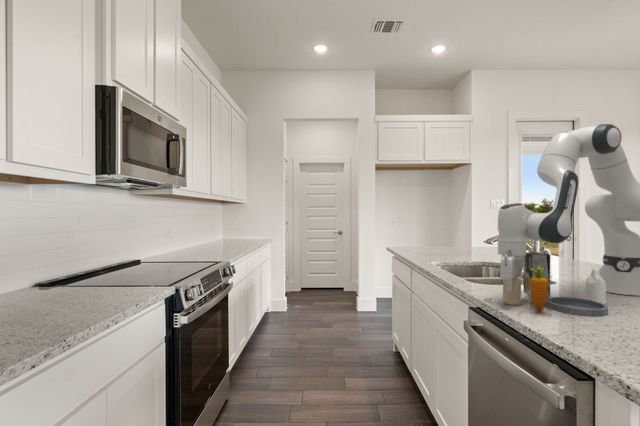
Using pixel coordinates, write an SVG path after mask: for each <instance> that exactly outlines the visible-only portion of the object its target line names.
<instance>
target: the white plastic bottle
mask: <svg viewBox="0 0 640 426" xmlns="http://www.w3.org/2000/svg"><path fill="white" fill-rule="evenodd" d="M585 293H586V295H585V296H586V299H587V300H592V301H596V302H600V303H603V304H605V305H607V292H606V283H605V282H604V280H603V278H602V277H601V276H600V275H599V273H598V270H597V269H595V268H592V269H591V273H590V275H589V276H588V277H587V278H586V281H585Z"/></svg>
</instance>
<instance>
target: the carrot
mask: <svg viewBox="0 0 640 426" xmlns="http://www.w3.org/2000/svg"><path fill="white" fill-rule="evenodd" d="M537 267H538V268H537V271H535V270H534V269H530V270H531V271H533V272H534V273H535V275H536V277H532V278H531V280H530V287H531V296H530V297H531V300H532V303H533V306H534V308H535V310H536V312H537V313H542V311H543V310H544V307H545V306H546V304H547V299H548V298H547V294H548V280H547V279H546V278H544V277H542V274H543V271H544V268H542V269H541V266H540V265H538V266H537Z"/></svg>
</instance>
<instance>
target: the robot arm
mask: <svg viewBox="0 0 640 426" xmlns="http://www.w3.org/2000/svg"><path fill="white" fill-rule="evenodd" d="M621 143H622V132H621V130H620V129H619V128H618V127H617V126H615V125H614V124H611V123H601V124H598V125H590V126H585V127H580V128H577V129H574V130H570V131H564V132H559V133H557V134H555V135H554V136H553V137H551V139H550V140H549V142H548V143H547V145H546V146H545V148H544V151H542V152H543V153H542V155H541V157H540V159H539V162H538V165H537V168H536V171H537V176H538V177H539V178H540V180H542V182H544V183H546V184H547V185H549V186H552V187H555V188H556V193H555V197H554V203H553V207H552V210H550V211H548V212H535V211H531V210H530V209H528V208H527V207H525V205H524V204H523V203H521V202H520V203H518V202H515V203H508V204H504V205H502V206H500V208H499V210H498V214H497V231H498V238H497V255H501V258H500V263H499V264H500V265H499V267H500V270H499V276H500V280H503V279H504V280H505V281H506V285H507V290H508V291H512V290H513V279H514V278H515V277H516V276H518V277H519V275H520V274H521V273H523V263H524V256H525V255H526V252H527V240H533V241H540V242H547V243H552V244H561V243H563V242H565V241H566V240H567V239H569V237H570V236H571V234H572V232H573V217H574V216H573V215H574V210H575V205H576V200H577V195H578V189H579V176H578V175H577V173H576V172H575V169H576V165H577V164H578V160H579V159H581V158H587V160H588V163H589V167H590V169H591V172H592V175H593V179H594V182H595V184H596V186H598V187H599V188H600V189H603V190H605V191H608V192H609V193H607V194H605V193H604V194H599V195H595V196H594V195H593V196H591V197H589V198H588V199H587V200H586V202H585V205H584V211H585V213H586V215H587V216H588V218H589V219H591V220H592V221H594V222H595V223H596V224H597V225H598V227H599V229H600V230H601V233H602V236H603V244H604V254H603V257H602V263H603V265H602V266H601V267H600V268H598V270H597V272H598V273H599V275H600V276H601V277H602V278H603V280H604V282H605V283H606V293H610V294H611V293H613V294H615V295H624V296H625V295H626V296H640V235H639V234H638V233H636V232H634V231H633V230H630V229H629V228H628V227H627V225H626V222H637V223H638V222H640V182H639V181H638V180H637V179H636V178H635V177H634V176H635V175H633V172H632V170H631V168H630V164H629V162H628V158H627V155H626V152H625V151H624V148H623V147H622V144H621Z"/></svg>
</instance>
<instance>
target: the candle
mask: <svg viewBox="0 0 640 426" xmlns="http://www.w3.org/2000/svg"><path fill="white" fill-rule="evenodd" d="M502 302H503V304H506V305H509V306H510V305H511V306H520V305H521V304H522V280H521V278H519V275H518V276H516V277H515V278H514V279H513V290H512V291H508V290H507V285H506V281H505V280H504V279H502Z"/></svg>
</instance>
